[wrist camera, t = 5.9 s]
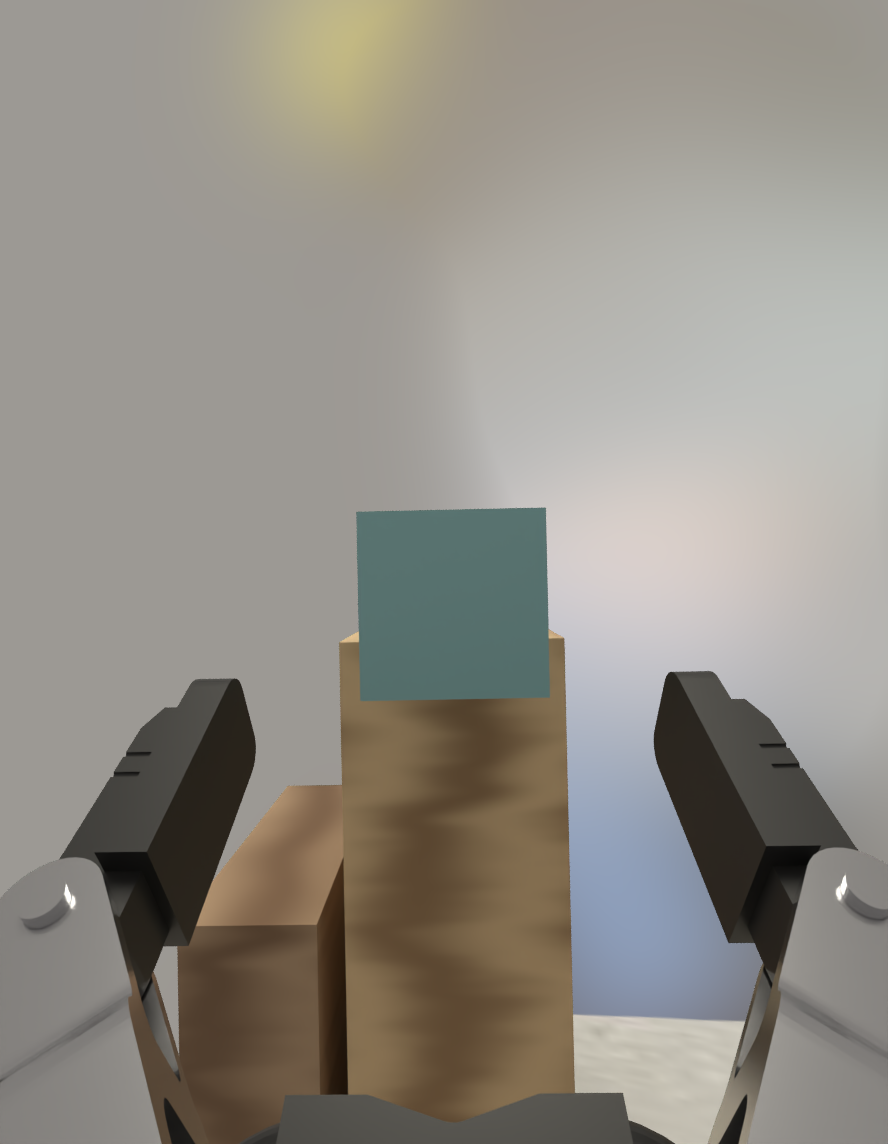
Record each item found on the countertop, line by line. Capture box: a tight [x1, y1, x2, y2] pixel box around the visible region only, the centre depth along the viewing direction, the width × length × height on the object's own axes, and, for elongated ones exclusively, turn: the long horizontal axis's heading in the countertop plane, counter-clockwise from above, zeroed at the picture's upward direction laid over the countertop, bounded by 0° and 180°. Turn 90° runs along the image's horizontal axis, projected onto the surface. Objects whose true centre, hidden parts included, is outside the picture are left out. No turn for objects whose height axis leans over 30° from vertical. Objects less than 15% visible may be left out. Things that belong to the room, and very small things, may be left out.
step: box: [177, 785, 348, 1144], centre depth 28 cm, size 5×14×22 cm, turn 179°
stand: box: [339, 629, 575, 1122], centre depth 28 cm, size 8×14×32 cm, turn 179°
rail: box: [356, 508, 550, 701], centre depth 23 cm, size 4×24×4 cm, turn 0°
